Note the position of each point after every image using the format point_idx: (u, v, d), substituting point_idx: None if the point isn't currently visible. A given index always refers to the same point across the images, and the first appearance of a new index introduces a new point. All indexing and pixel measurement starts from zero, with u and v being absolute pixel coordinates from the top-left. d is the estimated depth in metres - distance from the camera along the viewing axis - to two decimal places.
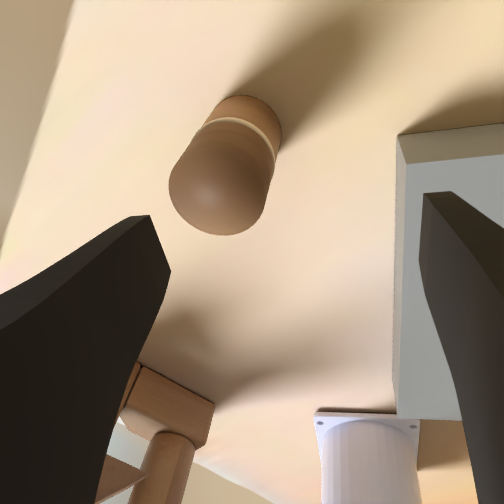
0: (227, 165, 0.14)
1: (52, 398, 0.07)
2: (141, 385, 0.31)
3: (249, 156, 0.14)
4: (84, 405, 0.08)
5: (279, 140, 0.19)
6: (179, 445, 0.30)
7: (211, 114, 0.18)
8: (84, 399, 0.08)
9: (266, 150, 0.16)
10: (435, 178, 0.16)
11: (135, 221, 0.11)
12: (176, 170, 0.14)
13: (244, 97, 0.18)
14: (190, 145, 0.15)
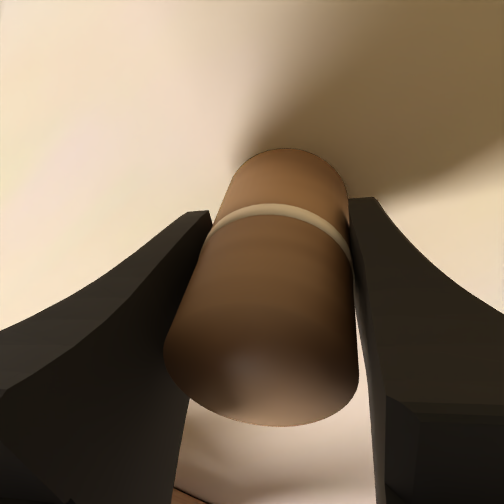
0: (287, 332, 0.07)
1: (136, 401, 0.07)
2: None
3: (331, 308, 0.07)
4: (160, 408, 0.08)
5: None
6: None
7: (238, 184, 0.10)
8: (160, 402, 0.08)
9: (347, 269, 0.08)
10: None
11: (197, 216, 0.10)
12: (178, 331, 0.07)
13: (292, 153, 0.11)
14: (206, 271, 0.08)
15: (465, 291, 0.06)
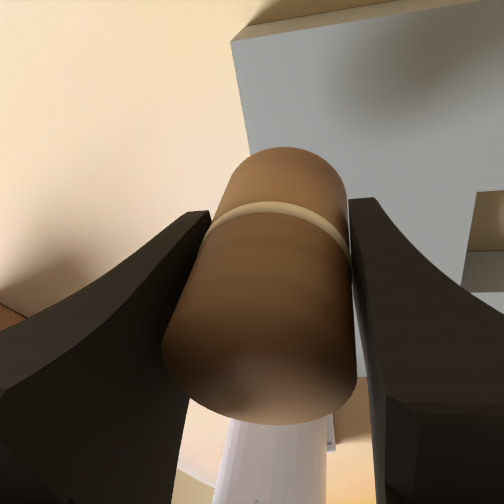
0: (286, 330, 0.07)
1: (136, 401, 0.07)
2: None
3: (328, 305, 0.07)
4: (160, 408, 0.08)
5: None
6: None
7: (237, 183, 0.10)
8: (160, 402, 0.08)
9: (345, 267, 0.08)
10: (266, 61, 0.14)
11: (197, 216, 0.10)
12: (176, 328, 0.07)
13: (291, 151, 0.11)
14: (204, 269, 0.08)
15: (465, 291, 0.06)
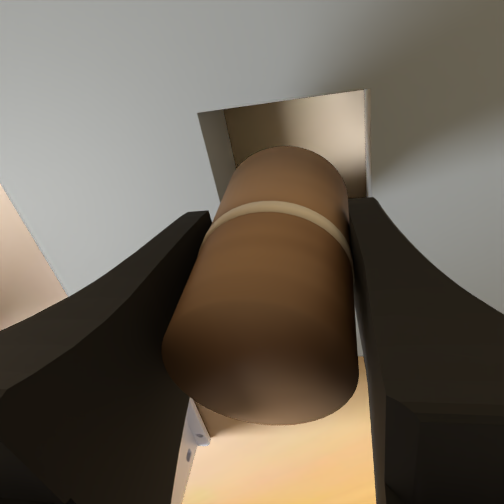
0: (286, 330, 0.07)
1: (136, 401, 0.07)
2: None
3: (330, 304, 0.07)
4: (160, 408, 0.08)
5: None
6: None
7: (237, 182, 0.10)
8: (160, 402, 0.08)
9: (347, 267, 0.08)
10: None
11: (197, 216, 0.10)
12: (176, 328, 0.07)
13: (292, 151, 0.11)
14: (205, 268, 0.08)
15: (465, 291, 0.06)
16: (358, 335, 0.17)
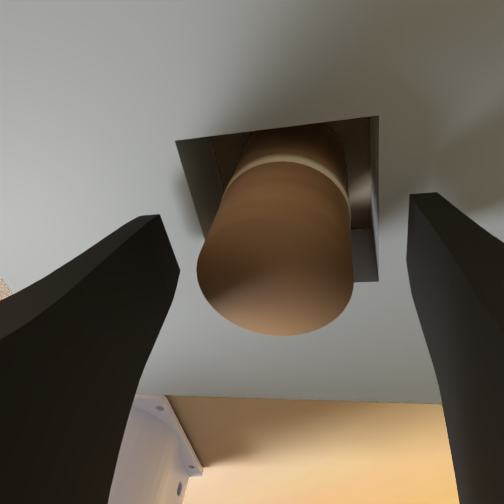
0: (297, 243, 0.09)
1: (66, 399, 0.07)
2: None
3: (331, 225, 0.09)
4: (97, 406, 0.08)
5: None
6: None
7: (253, 144, 0.12)
8: (97, 400, 0.08)
9: (344, 206, 0.10)
10: None
11: (146, 220, 0.10)
12: (210, 245, 0.09)
13: None
14: (231, 202, 0.09)
15: None
16: (362, 380, 0.16)
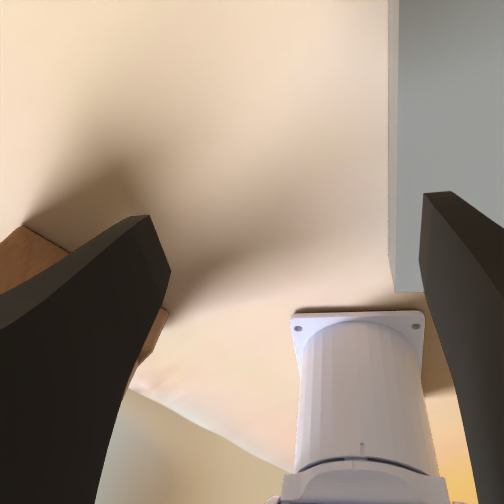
0: None
1: (52, 398, 0.07)
2: None
3: None
4: (84, 405, 0.08)
5: None
6: None
7: None
8: (84, 399, 0.08)
9: None
10: None
11: (135, 221, 0.11)
12: None
13: None
14: None
15: None
16: None
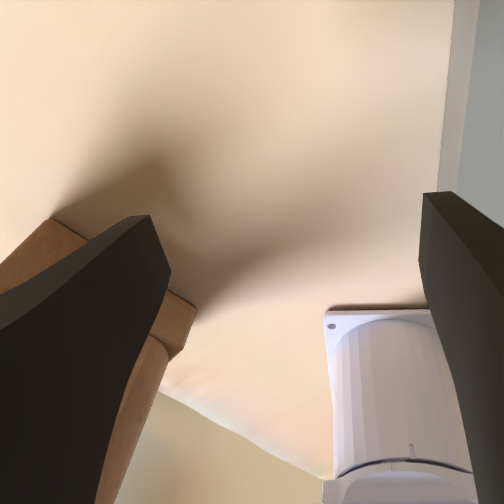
0: None
1: (52, 398, 0.07)
2: None
3: None
4: (84, 405, 0.08)
5: None
6: (146, 345, 0.23)
7: None
8: (84, 399, 0.08)
9: None
10: None
11: (135, 221, 0.11)
12: None
13: None
14: None
15: None
16: None
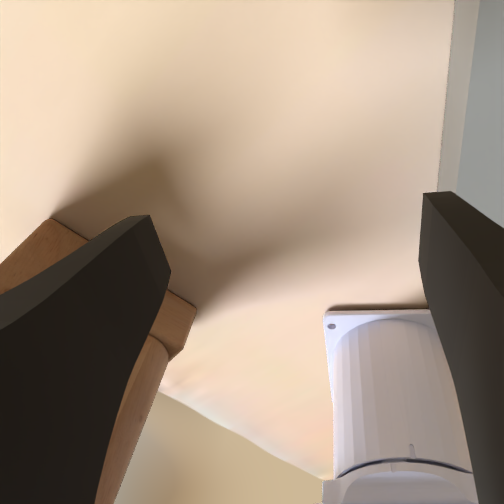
0: None
1: (52, 398, 0.07)
2: None
3: None
4: (84, 405, 0.08)
5: None
6: (146, 345, 0.23)
7: None
8: (84, 399, 0.08)
9: None
10: None
11: (135, 221, 0.11)
12: None
13: None
14: None
15: None
16: None
